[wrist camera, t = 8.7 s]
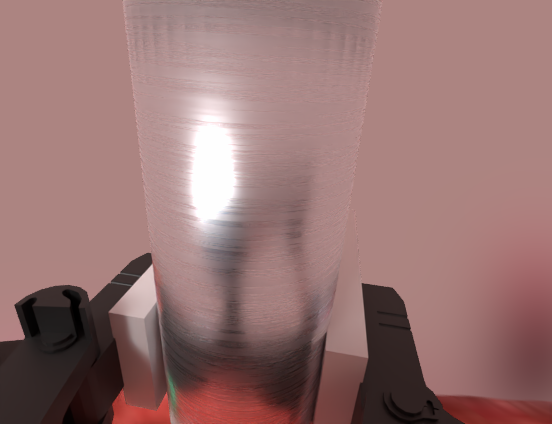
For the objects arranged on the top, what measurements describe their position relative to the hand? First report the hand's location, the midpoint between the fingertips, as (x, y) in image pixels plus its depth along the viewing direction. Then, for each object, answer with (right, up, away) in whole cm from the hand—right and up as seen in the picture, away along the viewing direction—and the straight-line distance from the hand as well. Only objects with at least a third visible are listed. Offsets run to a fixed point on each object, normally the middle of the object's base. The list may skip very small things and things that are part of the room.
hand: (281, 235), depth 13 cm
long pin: (-1, -10, -1) cm, 10 cm away
